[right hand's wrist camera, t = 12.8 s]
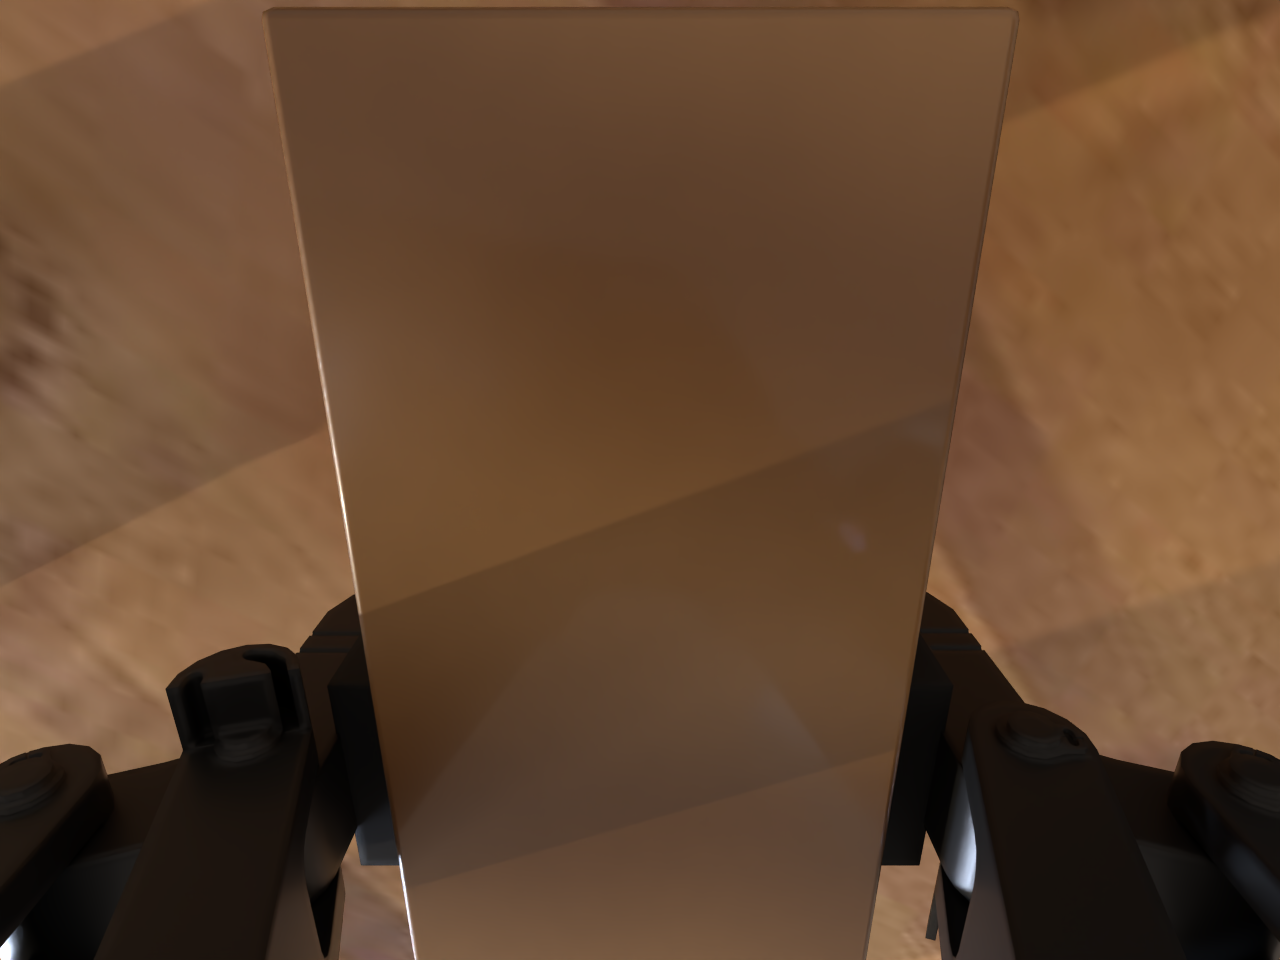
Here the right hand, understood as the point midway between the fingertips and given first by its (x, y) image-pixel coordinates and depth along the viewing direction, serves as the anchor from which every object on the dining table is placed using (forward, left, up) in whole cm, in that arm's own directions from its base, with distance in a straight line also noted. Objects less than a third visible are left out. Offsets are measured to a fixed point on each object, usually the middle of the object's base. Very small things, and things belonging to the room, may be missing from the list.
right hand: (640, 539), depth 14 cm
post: (-10, -31, -1) cm, 33 cm away
